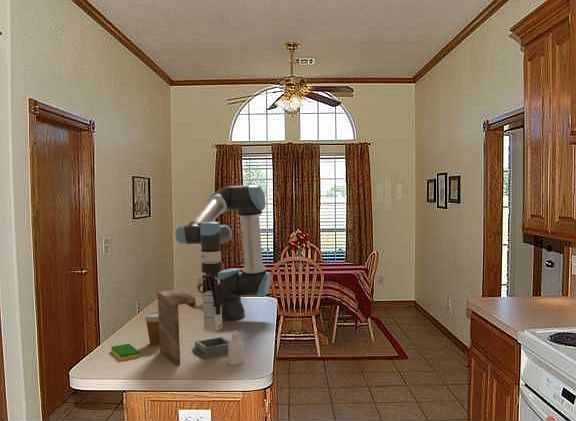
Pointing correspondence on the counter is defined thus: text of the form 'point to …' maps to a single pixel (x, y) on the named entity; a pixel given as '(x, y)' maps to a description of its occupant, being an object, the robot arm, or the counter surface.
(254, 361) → the counter surface
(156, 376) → the counter surface
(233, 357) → the eye dropper bottle
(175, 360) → the brown l-shaped bracket
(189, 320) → the counter surface
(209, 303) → the syrup box
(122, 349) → the dish sponge
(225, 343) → the socket
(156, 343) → the disposable coffee cup
